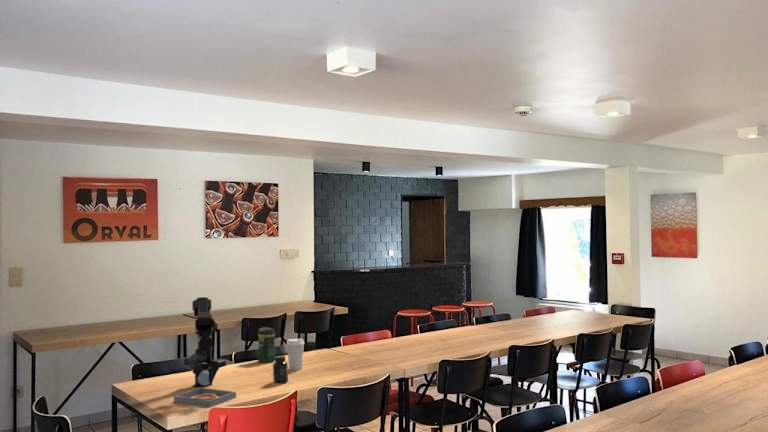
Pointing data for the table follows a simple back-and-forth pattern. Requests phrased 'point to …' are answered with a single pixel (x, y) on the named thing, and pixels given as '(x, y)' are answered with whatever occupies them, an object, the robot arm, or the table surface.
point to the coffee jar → (266, 344)
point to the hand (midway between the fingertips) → (205, 382)
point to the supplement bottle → (280, 370)
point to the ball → (204, 378)
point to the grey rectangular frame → (205, 397)
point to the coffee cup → (295, 353)
